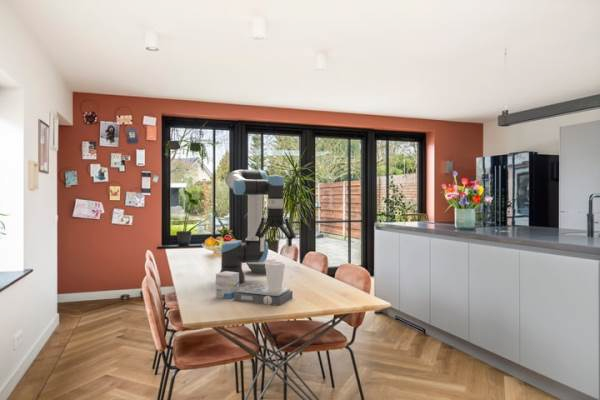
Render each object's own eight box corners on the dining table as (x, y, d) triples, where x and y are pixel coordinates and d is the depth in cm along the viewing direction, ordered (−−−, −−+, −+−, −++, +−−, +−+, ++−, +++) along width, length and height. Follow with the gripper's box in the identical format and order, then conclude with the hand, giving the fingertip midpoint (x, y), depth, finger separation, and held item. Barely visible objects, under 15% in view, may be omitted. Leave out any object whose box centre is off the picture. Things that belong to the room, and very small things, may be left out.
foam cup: (285, 292, 195) (285, 264, 195) (265, 292, 194) (266, 264, 193) (283, 287, 204) (283, 261, 204) (264, 288, 203) (264, 261, 203)
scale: (233, 301, 199) (233, 292, 198) (249, 294, 213) (249, 285, 213) (279, 306, 190) (279, 297, 190) (292, 298, 204) (292, 290, 204)
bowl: (281, 271, 272) (281, 256, 272) (263, 276, 256) (263, 261, 256) (257, 268, 283) (257, 254, 283) (238, 273, 266) (238, 258, 266)
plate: (236, 291, 199) (236, 289, 199) (250, 286, 211) (250, 284, 211) (278, 296, 191) (278, 294, 191) (289, 290, 203) (289, 288, 203)
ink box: (239, 295, 209) (239, 272, 209) (229, 299, 201) (229, 275, 201) (225, 293, 212) (225, 270, 212) (215, 297, 205) (215, 273, 204)
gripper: (248, 207, 200) (248, 251, 200) (296, 208, 190) (296, 255, 191) (255, 206, 207) (255, 249, 207) (302, 208, 197) (302, 252, 198)
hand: (275, 252), depth 199 cm, fingers open, 13 cm apart
